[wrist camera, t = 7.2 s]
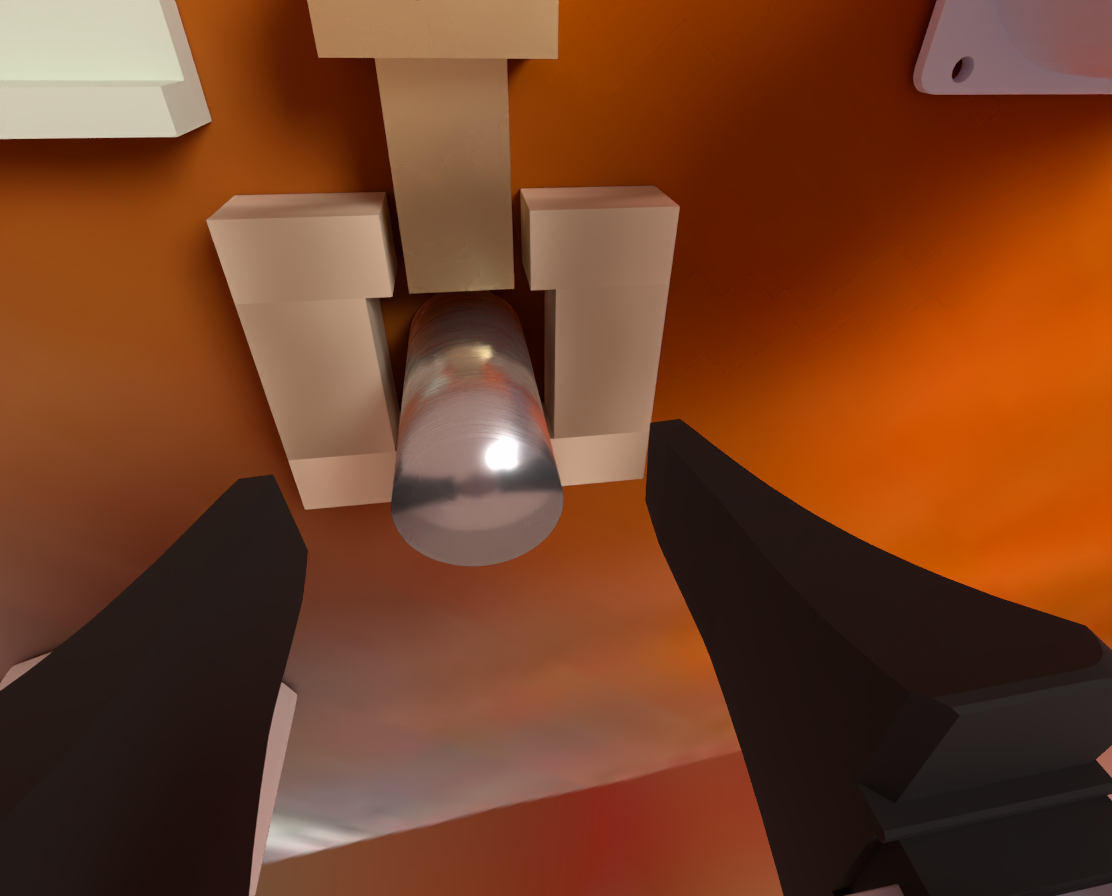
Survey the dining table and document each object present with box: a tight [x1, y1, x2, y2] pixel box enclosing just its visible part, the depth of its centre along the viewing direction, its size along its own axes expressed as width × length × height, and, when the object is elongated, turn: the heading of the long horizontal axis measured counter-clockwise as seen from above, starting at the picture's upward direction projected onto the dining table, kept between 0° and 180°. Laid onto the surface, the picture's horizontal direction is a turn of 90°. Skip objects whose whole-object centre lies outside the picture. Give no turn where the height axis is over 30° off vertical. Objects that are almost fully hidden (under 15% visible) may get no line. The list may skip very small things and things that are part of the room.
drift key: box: [307, 0, 558, 294], centre depth 12 cm, size 4×6×3 cm, turn 179°
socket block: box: [206, 185, 680, 510], centre depth 15 cm, size 10×8×2 cm
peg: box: [391, 290, 564, 566], centre depth 14 cm, size 3×3×7 cm
